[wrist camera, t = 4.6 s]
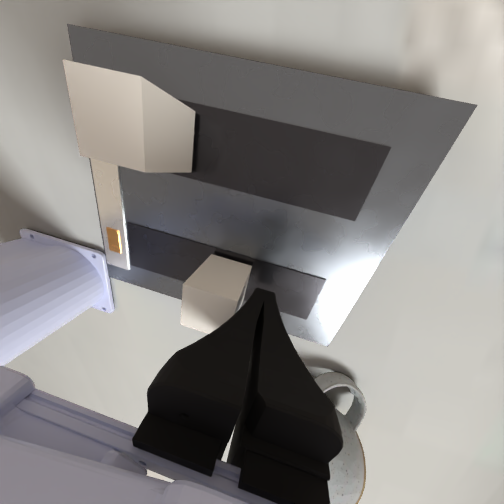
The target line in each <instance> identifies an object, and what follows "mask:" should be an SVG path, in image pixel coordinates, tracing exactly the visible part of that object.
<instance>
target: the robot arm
mask: <svg viewBox="0 0 504 504" xmlns="http://www.w3.org/2000/svg"><path fill="white" fill-rule="evenodd" d="M19 232H20V235H21V238H20V239H16V240H12V241H8V242H4V243H0V504H331V503H330V498H329V489H328V481H329V480H330V469H329V462H330V461H331V460H332V459H334V458H335V457H336V456H337V455H338V454H339V453H340V451H341V450H342V448H343V437H342V432H341V427H340V424H339V420H338V417H337V413H336V410H335V406H334V405H333V404H332V402H331V401H330V400H329V399H328V397H327V396H326V395H325V394H324V392H323V391H322V390H321V388H320V387H319V386H318V384H317V383H316V382H315V380H314V379H313V377H312V376H311V374H310V373H309V372H308V370H307V368H306V367H305V365H304V363H303V362H302V360H301V359H300V357H299V355H298V353H297V352H296V350H295V348H294V346H293V344H292V342H291V340H290V338H289V336H288V333H287V331H286V329H285V326H284V324H283V321H282V318H281V315H280V312H279V309H278V305H277V301H276V295H275V293H274V292H271V291H268V290H264V289H261V288H258V287H257V288H255V290H254V292H253V293H252V295H251V296H250V298H249V299H248V300H247V301H246V303H245V304H244V305H243V306H242V307H241V308H240V309H239V310H238V311H237V312H236V313H235V314H234V315H233V316H232V317H231V318H230V319H229V320H227V321H226V322H225V323H224V324H222V325H221V326H220V327H218V328H217V329H216V330H214V331H213V332H211V333H210V334H208V335H206V336H205V337H203V338H201V339H200V340H198V341H196V342H195V343H193V344H191V345H189V346H187V347H185V348H183V349H181V350H179V351H177V352H176V353H175V354H174V355H173V356H172V357H171V358H170V359H169V360H168V361H167V363H166V364H165V365H164V366H163V367H162V369H161V370H160V371H159V373H158V374H157V376H156V377H155V379H154V380H153V382H152V383H151V385H150V386H149V388H148V391H147V400H148V413H147V414H146V416H145V418H144V419H143V421H142V423H141V424H140V426H139V428H136V427H133V426H131V425H128V424H126V423H123V422H120V421H118V420H115V419H113V418H110V417H107V416H105V415H102V414H100V413H97V412H95V411H92V410H89V409H87V408H84V407H82V406H79V405H77V404H74V403H71V402H69V401H66V400H64V399H61V398H59V397H56V396H53V395H51V394H48V393H46V392H43V391H41V390H38V389H35V384H34V382H33V381H32V380H31V378H29V377H28V376H27V375H25V374H23V373H20V372H17V371H15V370H12V369H10V368H7V367H4V365H6V364H7V363H9V362H10V361H12V360H13V359H15V358H16V357H18V356H19V355H21V354H22V353H23V352H25V351H26V350H28V349H29V348H31V347H32V346H34V345H35V344H37V343H38V342H40V341H41V340H43V339H44V338H46V337H47V336H49V335H50V334H52V333H53V332H55V331H56V330H57V329H59V328H60V327H62V326H63V325H65V324H66V323H68V322H69V321H71V320H72V319H74V318H75V317H77V316H78V315H80V314H81V313H83V312H84V311H86V310H87V309H89V308H90V307H92V308H95V309H98V310H101V311H104V312H107V313H112V312H113V311H114V303H113V297H112V291H111V285H110V279H109V276H108V269H107V263H106V257H105V254H104V253H103V252H101V251H97V250H94V249H91V248H88V247H84V246H81V245H78V244H75V243H71V242H68V241H65V240H62V239H59V238H55V237H52V236H49V235H46V234H42V233H39V232H36V231H33V230H29V229H26V228H24V229H20V231H19ZM235 424H236V425H235ZM234 427H235V429H234ZM233 430H234V433H233V437H232V442H231V446H230V450H229V454H228V458H227V462H223V461H221V459H222V456H223V454H224V451H225V448H226V446H227V443H228V442H229V440H230V437H231V435H232V432H233ZM145 468H146V469H145ZM147 469H148V470H151V471H153V472H156V473H158V474H161V475H163V476H166V477H168V478H171V479H173V480H175V481H174V482H172V483H171V482H167V481H164V480H160V479H157V478H153V477H150V476H146V475H147Z"/></svg>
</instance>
